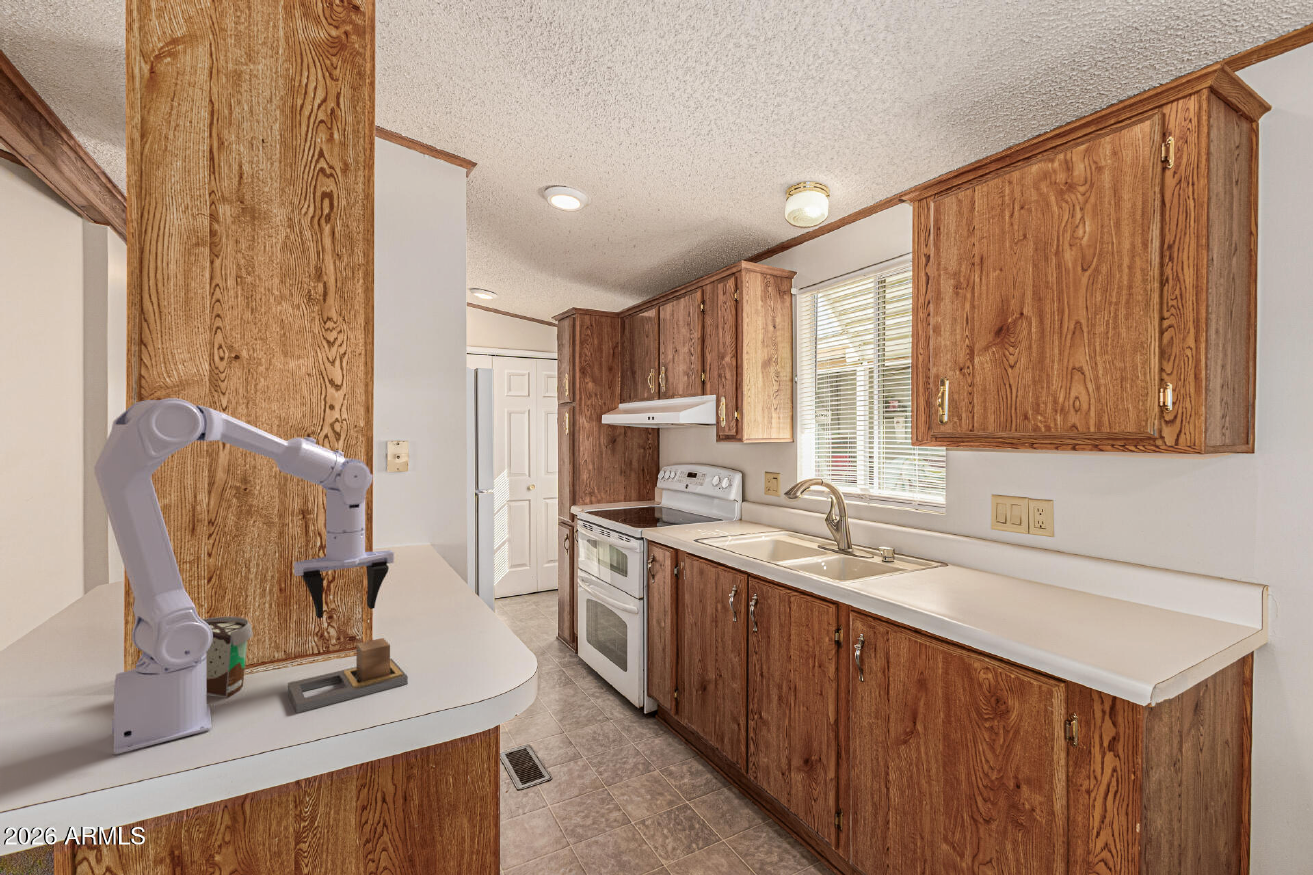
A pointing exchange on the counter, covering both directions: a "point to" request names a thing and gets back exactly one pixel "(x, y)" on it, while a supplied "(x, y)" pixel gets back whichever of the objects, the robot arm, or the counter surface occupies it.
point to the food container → (227, 655)
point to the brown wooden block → (372, 660)
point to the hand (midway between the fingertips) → (345, 611)
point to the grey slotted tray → (347, 682)
